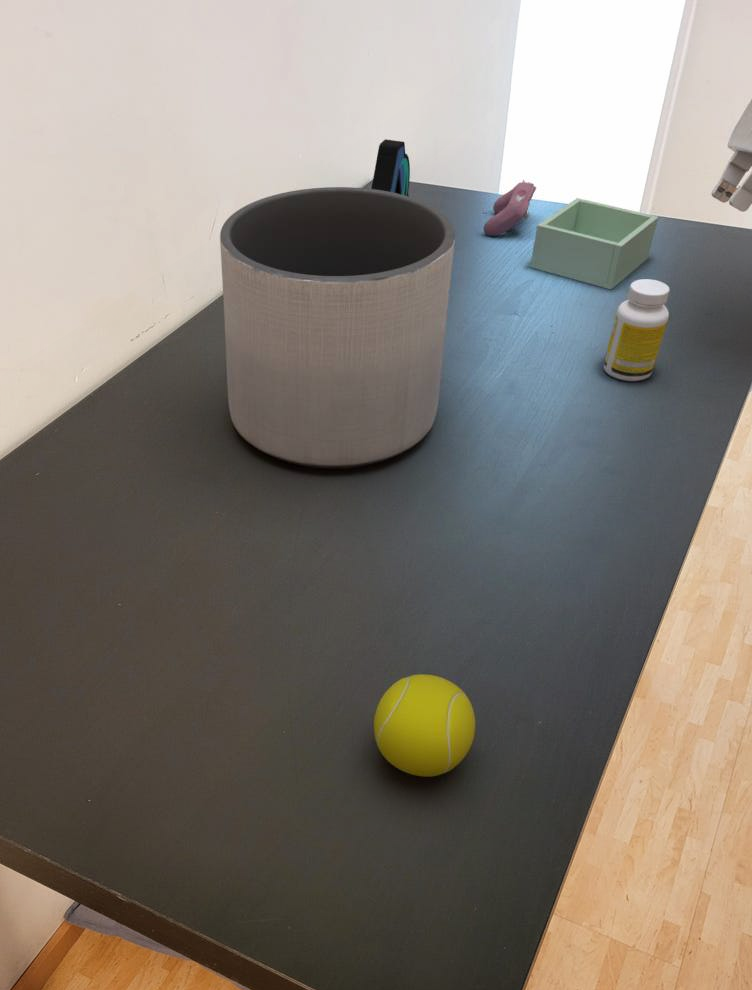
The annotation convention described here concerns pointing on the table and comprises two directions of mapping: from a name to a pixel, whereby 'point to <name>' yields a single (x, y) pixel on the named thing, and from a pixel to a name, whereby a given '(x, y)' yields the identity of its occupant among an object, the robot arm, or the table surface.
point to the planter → (335, 323)
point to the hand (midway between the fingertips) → (726, 203)
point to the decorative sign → (392, 168)
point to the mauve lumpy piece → (510, 209)
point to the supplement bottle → (638, 331)
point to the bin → (593, 242)
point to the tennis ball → (424, 725)
